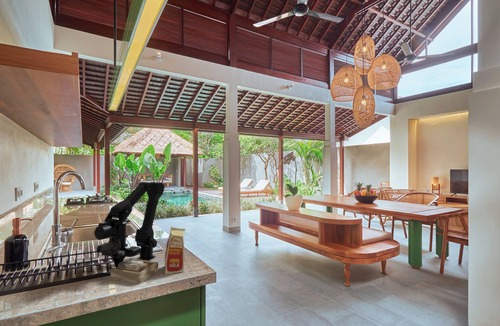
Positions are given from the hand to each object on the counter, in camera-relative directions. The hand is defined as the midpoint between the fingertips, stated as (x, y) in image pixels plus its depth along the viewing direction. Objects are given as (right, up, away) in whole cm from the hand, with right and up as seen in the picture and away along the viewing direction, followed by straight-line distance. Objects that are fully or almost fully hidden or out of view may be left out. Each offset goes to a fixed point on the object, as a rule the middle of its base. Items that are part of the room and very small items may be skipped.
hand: (117, 268), depth 117 cm
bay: (+8, -2, -2) cm, 9 cm away
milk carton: (+24, -3, +6) cm, 25 cm away
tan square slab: (+7, -2, -2) cm, 8 cm away
